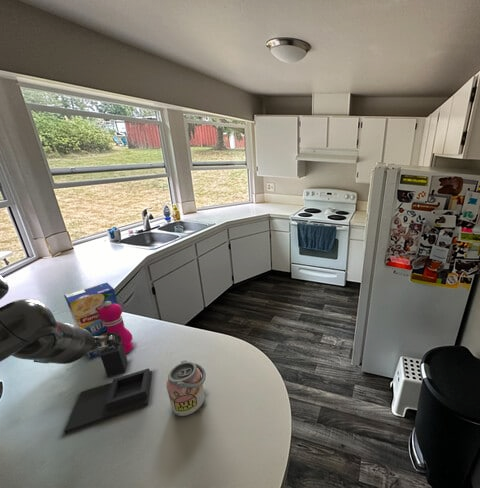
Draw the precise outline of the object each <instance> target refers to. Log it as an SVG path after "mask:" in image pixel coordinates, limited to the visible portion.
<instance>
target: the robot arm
mask: <svg viewBox="0 0 480 488" xmlns="http://www.w3.org/2000/svg"><path fill="white" fill-rule="evenodd" d="M9 290H10V286H9V284H8V282H7V280H5V278H4V277H3V276H2V275H1V274H0V300H2V299H3V298H4V297H5V296H6V295H7V294H8V293H9ZM105 342H106V345H105ZM119 345H121V335H120V334H117V333H113V332H109V333H107V335H106V337H104V336H92V334H91V333H90V332H89V331H88V330H86V329H83V328H80V327H78V326H76V325H75V324H72V323H68V322H62V321H58V320H57V319H56V318H55V316H54V314H53V312H52V311H51V309H50V308H49V307H48V306H47V305H45V304H44V303H43V302H41V301H39V300H37V299H32V298H31V299H30V298H24V299H17V300H14V301H11V302H8V303H7V304H5V305H2V306H0V363H1V362H2V361H5V360H6V359H8V358H9V357H14V358H17V359H20V360H27V361H33V363H39V364H58V365H66V364H67V365H68V364H72V363H74V362H77V361H79V360H80V359H81V360H82V358H84V357H85V356H86V355H88V354H87V353H90V352H97V351H101V350H104V349H105V348H109V349H115V348H116V347H117V346H119ZM97 346H98V348H96V347H97ZM94 348H95V349H94Z"/></svg>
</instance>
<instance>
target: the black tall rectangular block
mask: <svg viewBox="0 0 480 488" xmlns="http://www.w3.org/2000/svg"><path fill="white" fill-rule="evenodd" d="M105 345H106V344H105ZM98 357H100V360H101V362H102V365H103V368H104V370H105V373H106V376H107V378H110V377H113V376H117V375H121V374H125V373H126V372H127V367H128V365H129V362H128V359H127V354H125V351H124V348H123V345H122V340H121V345H119V346H117V347H116V348H115V349H109V348H105V349H104V350H101V352H100V354H99V355H98Z"/></svg>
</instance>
